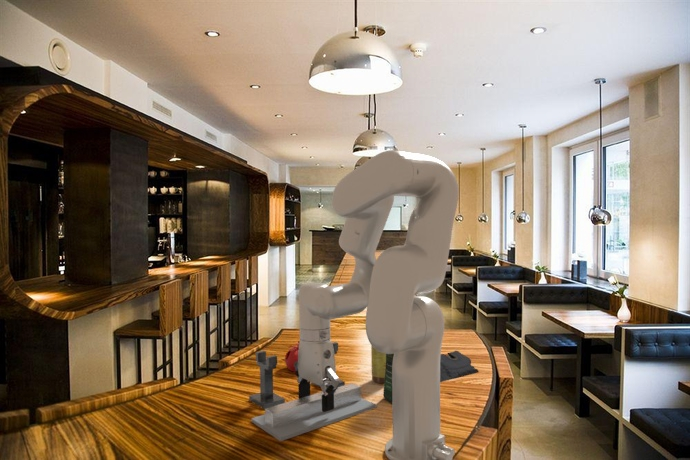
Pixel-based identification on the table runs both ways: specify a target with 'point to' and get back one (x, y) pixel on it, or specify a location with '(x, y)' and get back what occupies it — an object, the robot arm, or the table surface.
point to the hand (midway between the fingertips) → (315, 404)
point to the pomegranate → (292, 357)
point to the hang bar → (309, 406)
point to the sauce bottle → (378, 366)
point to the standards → (266, 381)
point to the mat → (314, 420)
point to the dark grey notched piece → (455, 366)
